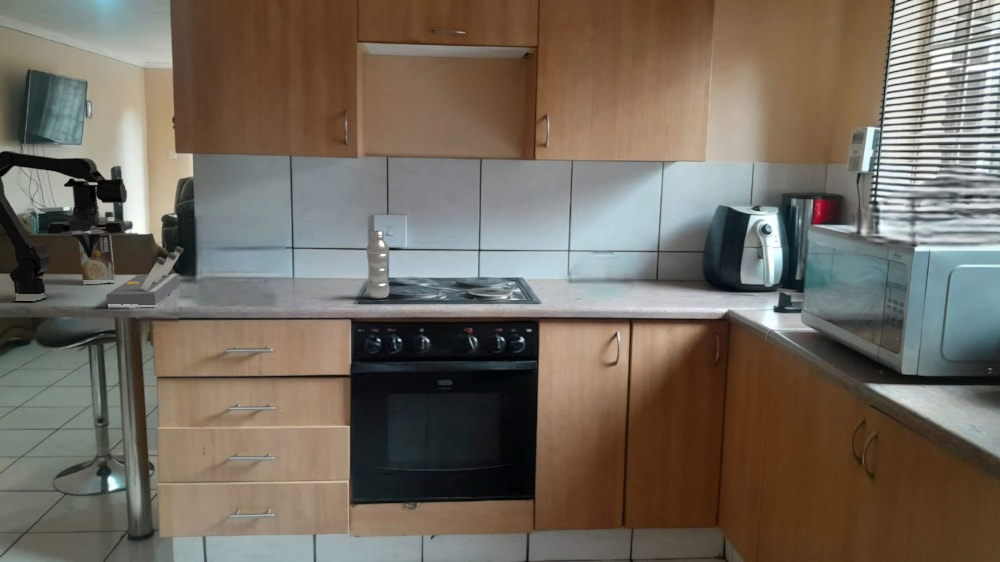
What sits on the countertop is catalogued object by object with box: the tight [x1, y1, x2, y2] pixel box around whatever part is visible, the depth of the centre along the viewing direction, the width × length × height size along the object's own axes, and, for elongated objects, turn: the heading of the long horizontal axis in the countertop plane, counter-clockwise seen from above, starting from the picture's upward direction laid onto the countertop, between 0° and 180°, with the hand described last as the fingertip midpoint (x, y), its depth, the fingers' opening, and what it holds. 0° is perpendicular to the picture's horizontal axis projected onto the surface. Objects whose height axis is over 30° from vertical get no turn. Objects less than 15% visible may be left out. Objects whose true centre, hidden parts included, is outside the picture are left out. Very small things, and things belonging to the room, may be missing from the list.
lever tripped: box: [154, 251, 177, 283], centre depth 212 cm, size 2×3×10 cm
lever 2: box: [163, 245, 185, 276], centre depth 225 cm, size 2×3×10 cm
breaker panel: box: [105, 273, 181, 305], centre depth 212 cm, size 12×35×4 cm, turn 14°
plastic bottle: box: [365, 230, 390, 300], centre depth 212 cm, size 6×7×20 cm
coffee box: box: [78, 232, 116, 281], centre depth 233 cm, size 9×6×16 cm
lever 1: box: [141, 256, 167, 291], centre depth 200 cm, size 2×3×10 cm
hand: (90, 257), depth 206 cm, fingers closed
